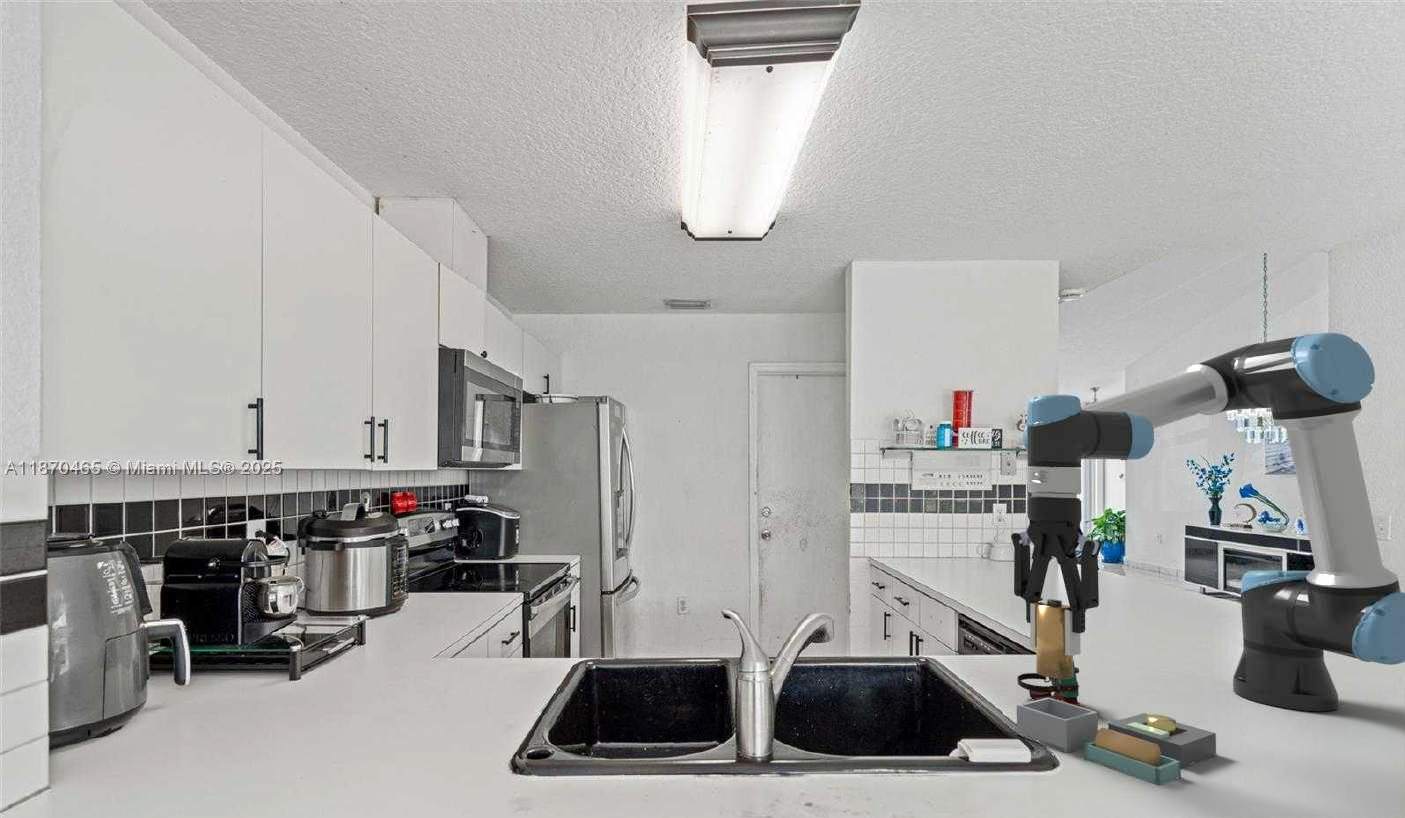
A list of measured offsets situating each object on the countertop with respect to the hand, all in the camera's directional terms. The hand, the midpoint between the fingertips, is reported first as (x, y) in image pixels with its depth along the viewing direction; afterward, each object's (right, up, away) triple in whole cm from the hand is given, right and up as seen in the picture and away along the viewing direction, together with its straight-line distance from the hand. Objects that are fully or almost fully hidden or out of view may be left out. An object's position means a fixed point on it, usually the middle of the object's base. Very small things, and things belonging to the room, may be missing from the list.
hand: (1055, 649), depth 113 cm
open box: (0, -13, -1) cm, 13 cm away
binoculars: (+7, -15, +16) cm, 23 cm away
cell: (0, -4, 0) cm, 4 cm away
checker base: (+14, -13, -4) cm, 19 cm away
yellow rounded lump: (+14, -11, -4) cm, 18 cm away
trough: (+5, -12, -11) cm, 18 cm away
